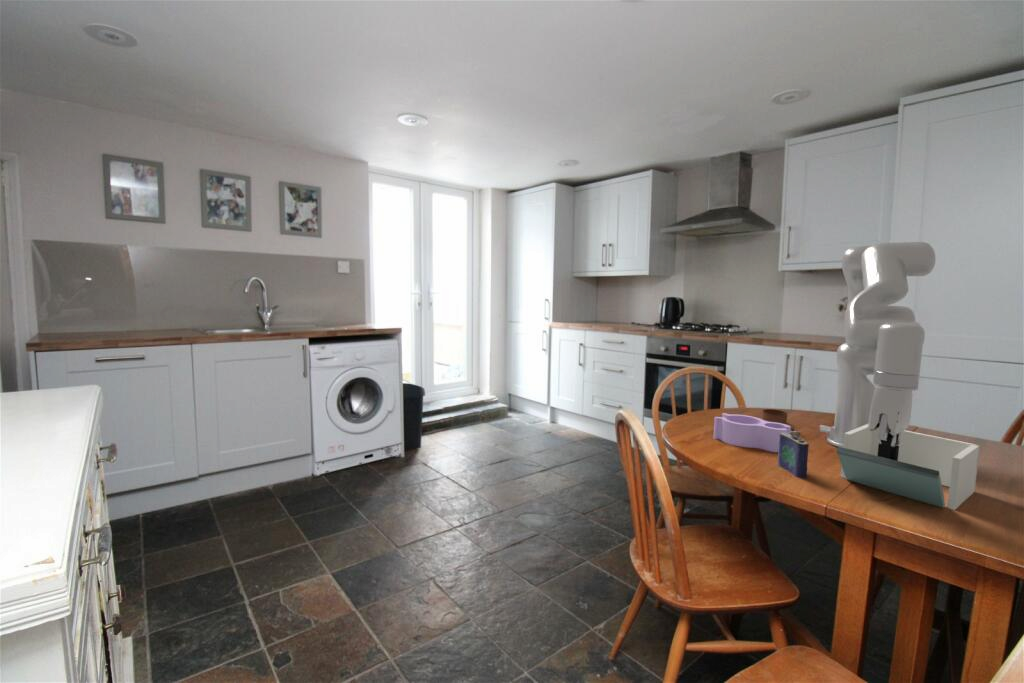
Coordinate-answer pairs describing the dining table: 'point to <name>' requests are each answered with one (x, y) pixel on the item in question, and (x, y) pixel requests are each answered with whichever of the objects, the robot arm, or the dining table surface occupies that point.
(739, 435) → the purple cup holder
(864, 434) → the teal front storage box
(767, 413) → the cup and saucer
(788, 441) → the flask
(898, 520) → the dining table surface
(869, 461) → the panel
